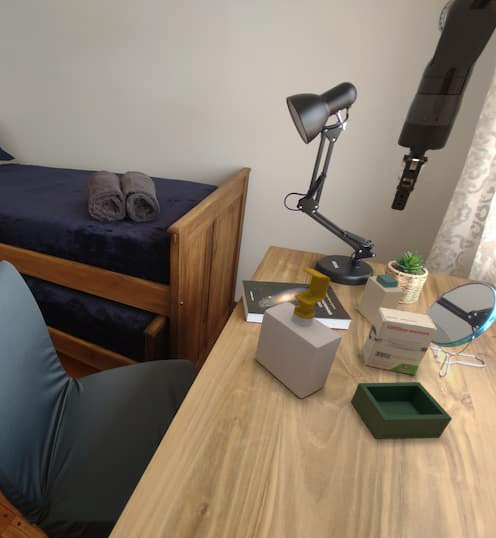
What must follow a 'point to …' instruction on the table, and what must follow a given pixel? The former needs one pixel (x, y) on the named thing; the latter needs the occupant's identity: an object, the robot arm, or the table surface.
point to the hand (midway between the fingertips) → (398, 203)
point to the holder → (399, 410)
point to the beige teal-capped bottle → (379, 296)
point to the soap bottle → (298, 340)
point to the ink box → (398, 340)
